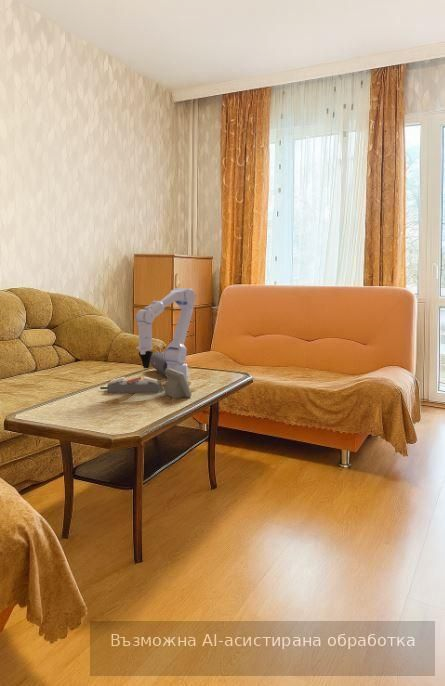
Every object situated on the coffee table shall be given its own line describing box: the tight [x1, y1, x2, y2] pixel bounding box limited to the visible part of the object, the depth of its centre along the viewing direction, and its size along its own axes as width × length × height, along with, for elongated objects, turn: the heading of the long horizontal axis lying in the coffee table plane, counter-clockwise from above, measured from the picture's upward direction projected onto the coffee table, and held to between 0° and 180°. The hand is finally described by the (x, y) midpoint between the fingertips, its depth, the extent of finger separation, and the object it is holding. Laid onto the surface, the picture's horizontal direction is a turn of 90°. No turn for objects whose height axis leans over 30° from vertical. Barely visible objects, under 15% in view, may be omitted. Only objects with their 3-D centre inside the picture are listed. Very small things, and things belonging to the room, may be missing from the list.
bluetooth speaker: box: [150, 351, 167, 377], centre depth 261 cm, size 23×9×10 cm, turn 23°
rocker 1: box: [109, 376, 126, 383], centre depth 224 cm, size 6×3×1 cm, turn 88°
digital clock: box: [164, 368, 193, 399], centre depth 217 cm, size 16×9×11 cm, turn 19°
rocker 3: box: [142, 375, 158, 383], centre depth 224 cm, size 6×3×1 cm, turn 90°
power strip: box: [99, 379, 162, 394], centre depth 226 cm, size 26×8×4 cm, turn 89°
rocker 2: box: [125, 376, 142, 383], centre depth 224 cm, size 6×3×1 cm, turn 88°
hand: (146, 368), depth 227 cm, fingers closed
